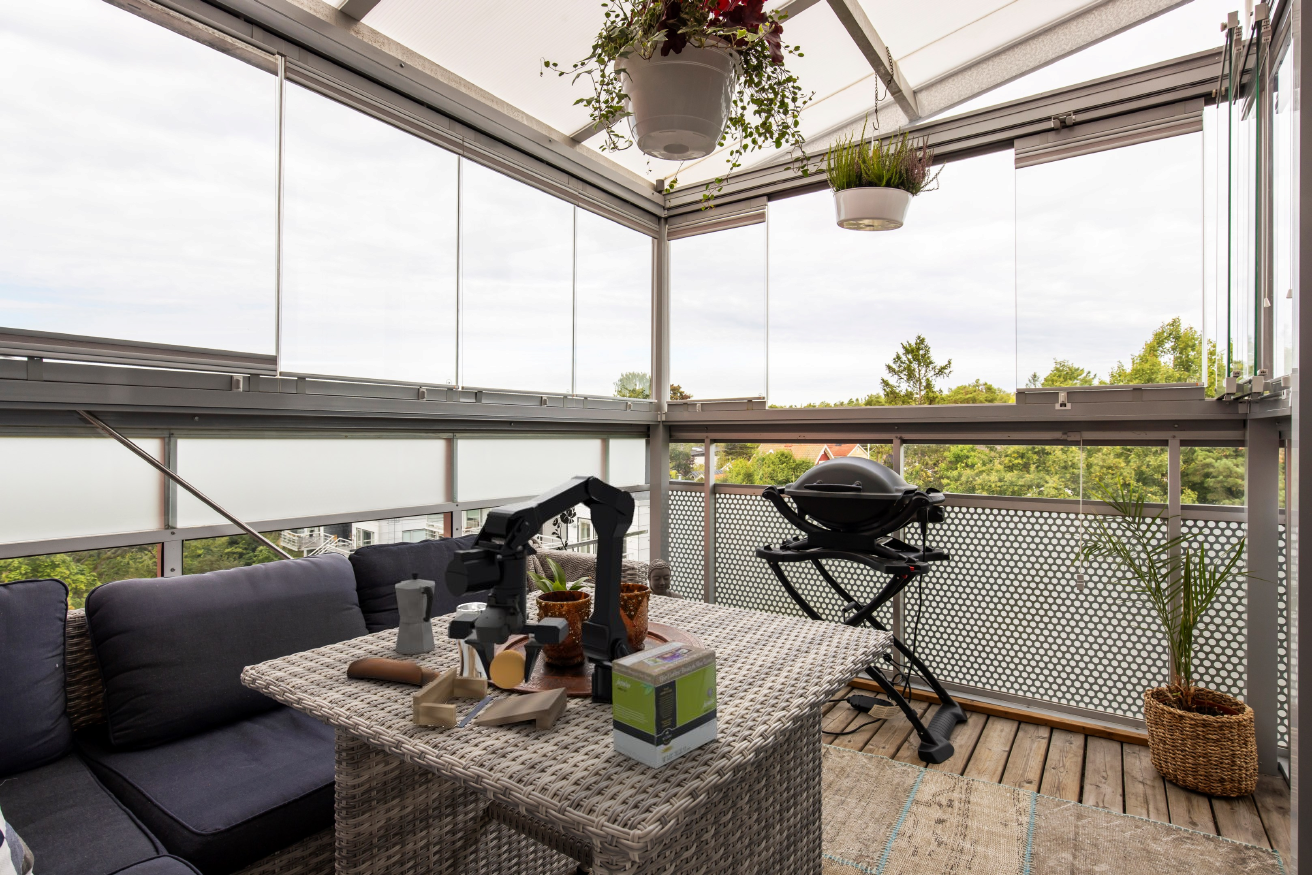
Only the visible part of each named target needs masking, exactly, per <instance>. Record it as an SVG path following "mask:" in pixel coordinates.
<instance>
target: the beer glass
mask: <svg viewBox="0 0 1312 875" xmlns="http://www.w3.org/2000/svg"><path fill="white" fill-rule="evenodd" d="M486 605H487V602H486V603H485V602H468V603H463V604H459V605H457V606H456V614H455V618H457V617H458V616H460V615H462V614H464V613H469V614H481V613H482V612H483V611H484V610H485V608H486ZM455 640H456V646H457V652H458V658H459V670H458V673H457V676H464V677H479V678H485V677H487V676H486V673H485V671H484V668H483V665H482V663H481V660H480V658H479V656H478V654H477V652H476V650H475V649H474V648H473V647H472V646H471V645H468V644H465V643H464V641H465V640H466V639H465V640H463V639H455Z"/></svg>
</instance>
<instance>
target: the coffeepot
mask: <svg viewBox="0 0 1312 875" xmlns="http://www.w3.org/2000/svg"><path fill="white" fill-rule="evenodd" d="M411 576H412V579H407V580H403V581H402V580H401V581H400V582H398V583H396V584H395V585H394V586H395V587H394V589H395V594H396V595H395V596H396V601H397V602H396V603H397V608H398V609H397V610H398V615H399V624H398V625H399V626H398V630H397V638H396V644H395V653H398V654H401V655H417V654H419V655H420V654H424V653H428V652H430V651H433V650H434V649H436V645H435V638H434V632H433V626H432V619H431V615H432V610H433V604H434V600H435V599H434V598H435V588H436V583H435V581H434V580H428V579H427V580H426V579H421V578H419V571H417V570H416V571H412V572H411Z"/></svg>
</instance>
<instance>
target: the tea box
mask: <svg viewBox="0 0 1312 875" xmlns="http://www.w3.org/2000/svg"><path fill="white" fill-rule="evenodd" d="M716 655H717V654H716V651H715V650H714V651H713V650H710V649H707V648H706V649H705V648H702V647H699V646H696V645H695V646H694V645H691V644H687V643H684V642H679V641H675V640H674V639H673V640H670V641H666V642H664V643H661V644H660V643H659V644H658V645H655V646H652V647H649V648H647V649H643V650H640V651H637V652H636V653H634V654H632V655H629V656H626V657H623V658H621V659H618V660H614V661H612V686H613V703H612V736H613V739H612V744H613V749H614V750H615V752H617V753H620V754H623V755H625V756H627V757H629V758H631V759H632V760H635V761H637V762H639V763H642V764H643V765H646V766H648V767H650V768H653V769H655V770H657V769H659V768H661V767H663V766H664V765H667V764H668V763H670V762H672V761H674V760H676V759H678V758H680V757H682V756H683V755H685V754H687V753H689V752H691V751H693V750H696V749H698V748H699V747H701V746H703V745H705V744H706V743H709V742H711V741H713V740H715V739H717V738H718V715H717V714H718V702H717V700H718V697H717V696H718V694H717V693H718V692H717V662H716V661H717V657H716Z"/></svg>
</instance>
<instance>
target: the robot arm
mask: <svg viewBox="0 0 1312 875" xmlns="http://www.w3.org/2000/svg"><path fill="white" fill-rule="evenodd" d="M579 504H581V505H583V506H584V507H586V508H587V509H589V513H590V522H591V524H592V527H593V529H594V532H595V533H596V536H597V537H596V538H597V542H596V543H597V544H596V556H595V557H596V558H595V560H596V561H595V576H594V577H595V578H594V579H595V580H594V596H593V598H594V599H593V611H592V613H591V615H590V617H589V618H588V619H587V620H585V621H582V623H581V625H580V628H581V636H580V640H579V643H580V644H581V647H582V648H581V649H582V651H583V653H584V654H585V657H586V662H587V664H592V665H594V666H593V671H592V672H591V674H590V676H591V678H590V679H591V682H590V685H591V686H590V688H591V690H590V692H591V695H592V697H591V702H594V703H595V702H596V703H597V702H598V703H610V704H613V686H612V661H614V660H618V659H621V658H623V657H626V656H629V655H632V654H634V653H637V652H636V651H635V650H634V649H633V647H632V646H631V645H630V644H629V643H628V642H629V641H628V629H627V625H626V624H625V621H624V619H623V617H622V615H621V613H620V610H621V596H622V595H621V593H622V591H621V590H622V573H623V557H624V537H625V536H626V534H627V532H628V531H629V529H630V528H631V526H632V524H633V522H634V515H635V509H636V501H635V498H634V497H633V496H632V494H631V492H629V491H627V490H622V489H620V488H617V487H616V486H614V485H611V484H609V483H606V482H604V481H603V480H601V479H600V478H598V477H596V476H594V475H590V474H589V475H588V474H587V475H586V474H576V475H575V476H573V477H571V478H570V479H569V480H567V481H565V482H563V483H561V484H559V485H557V486H554V487H553V488H551V489H549V490H547V491H545V492H543V493H541V494H539V495H538V496H536V497H533V498H532V499H531V498H530V499H529V500H526V501H521V502H516V503H515V502H513V503H509V504H504V505H501V506H497V507H494V508H492V509H491V510H489V511H488V512H487V514H486V518H485V521H484V524H483V525H482V527H481V528H480V531H479V532H478V534H477V535H476V538H475V539H474V541H473V542H472V544H471V546H470V549H468V550H463V549H462V550H461V549H460V550H455V551H454V552H453V559H451V561H449V562H448V564H447V567H446V571H444V581H445V585H446V588H447V590H448V592H449V593H450V594H451V595H452V596H453V597H456V598H460V597H464V596H469V595H473V594H479V593H483V592H487V591H490V593H489V594H487V598H486V604H487V605H486V608H485V610H484V611H483V612H482V613H481V614H469V613H464V614H462V615H460V616H458V617H457V618H456V617H455V618H453V619H452V620H451V621H450V622H449V624H448V627H447V639H449V640H456V639H463V640H465V639H466V640H465V641H464V643H465V644H468V645H471V646H472V647H473V648H474V649H475V650H476V652H477V654H478V656H479V658H480V660H481V663H482V665H483V668H484V671H485V673H486V676H487V679H488V680H487V681H489V682H490V681H492V679H491V676H490V665H491V662H492V660H493V659H494V657H495V645H498V646H499V645H505V644H506V643H507V642H508V641H509V638H510V637H511V636H513V635H514V636H528V638H529V640H528V641H527V642H526V643H525V644H523V648H524V651H525V656H524V658H525V671H524V683H525V684H528V683H529V682H530V679H531V677H532V675H533V671H534V669H535V666H536V663H537V660H538V658H539V655H540V654H541V651H542V649H544V647H546V646H547V645H550V646H552V645H553V646H555V645H559V644H561V643H562V642H563V641H564V640H565V638H567V637H568V636H569V634H570V632H569V630H570V629H569V623H568V620H566V618H565V617H564V618H563V617H544V618H542V619H541V620H540V621H538V623H535V622H527V621H528V620H529V619H530V613H529V612H527V609H528V608H527V605H528V603H527V602H528V599H527V597H528V596H529V595H530V588H529V587H528V588H527V586H528V585H527V580H528V579H527V578H528V577H527V575H528V574H527V568H528V562H527V561H528V560H527V557H529V556H535V555H537V554H538V550H537V549H536V548H534V546H532V545H531V544H530V542H529V541H531V540H532V539H533V538H534V537H535V536H536V535H538V534H539V533H540V531H541V529H542V526H543V525H545V524H546V523H547V522H548V521H550V520H552V519H554V518H555V517H557V516H559V515H561V514H563V513H565V512H567V511H569V510H570V509H572V508H574V507H576V506H578V505H579Z"/></svg>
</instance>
